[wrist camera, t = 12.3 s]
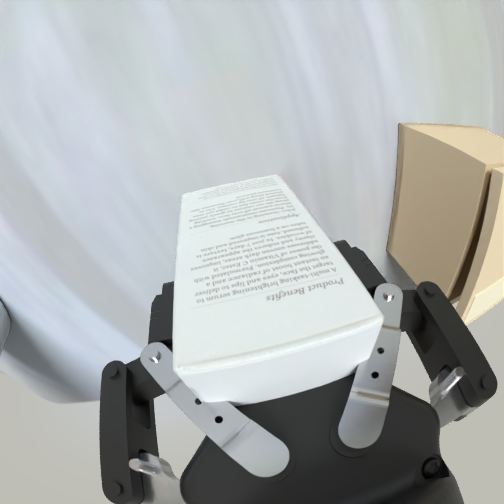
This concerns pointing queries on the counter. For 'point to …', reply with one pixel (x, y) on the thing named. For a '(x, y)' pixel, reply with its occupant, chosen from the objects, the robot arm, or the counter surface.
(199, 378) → the small box
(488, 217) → the lid
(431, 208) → the carton
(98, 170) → the counter surface
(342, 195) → the counter surface
